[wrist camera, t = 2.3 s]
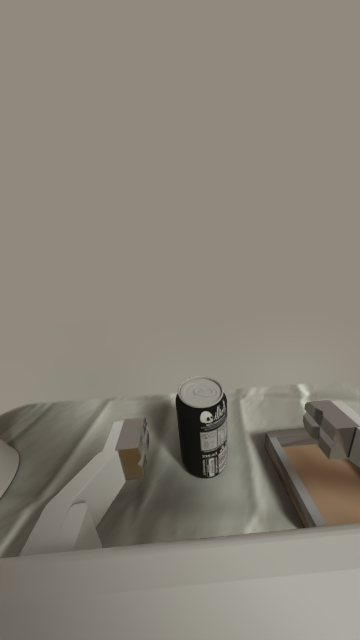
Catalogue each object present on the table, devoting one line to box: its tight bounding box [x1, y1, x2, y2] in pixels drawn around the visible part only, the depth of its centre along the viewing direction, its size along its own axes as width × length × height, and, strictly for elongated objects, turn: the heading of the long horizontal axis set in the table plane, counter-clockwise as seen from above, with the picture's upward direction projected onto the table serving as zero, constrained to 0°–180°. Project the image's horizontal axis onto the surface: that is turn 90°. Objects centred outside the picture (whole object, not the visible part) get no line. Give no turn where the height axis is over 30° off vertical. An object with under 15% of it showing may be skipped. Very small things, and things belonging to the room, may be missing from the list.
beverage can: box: [176, 376, 227, 478], centre depth 25 cm, size 7×7×12 cm
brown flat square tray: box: [265, 428, 360, 528], centre depth 22 cm, size 11×11×3 cm
